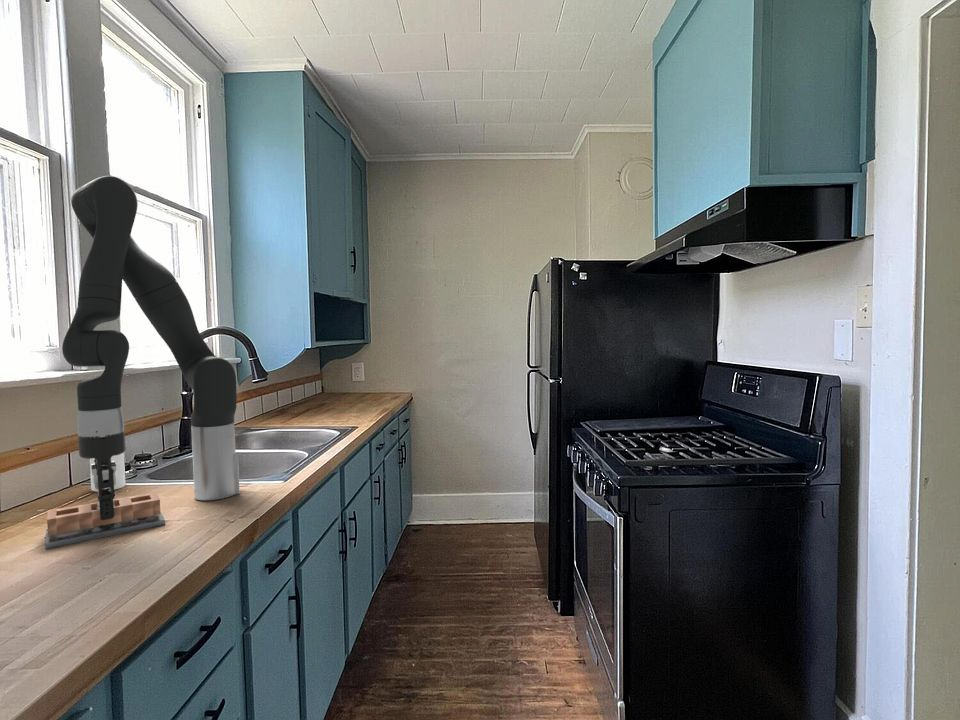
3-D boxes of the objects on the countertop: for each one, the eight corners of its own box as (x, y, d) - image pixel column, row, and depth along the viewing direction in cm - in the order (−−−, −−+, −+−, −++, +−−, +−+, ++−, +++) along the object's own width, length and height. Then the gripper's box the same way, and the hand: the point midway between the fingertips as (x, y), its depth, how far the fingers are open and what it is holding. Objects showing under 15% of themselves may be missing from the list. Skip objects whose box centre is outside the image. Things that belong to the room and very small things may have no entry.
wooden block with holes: (48, 535, 99) (47, 519, 99) (49, 525, 104) (48, 510, 104) (160, 513, 110) (159, 499, 110) (156, 505, 115) (155, 492, 115)
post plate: (159, 512, 116) (157, 483, 116) (165, 524, 109) (163, 493, 109) (46, 534, 105) (44, 502, 104) (45, 548, 98) (43, 514, 97)
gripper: (77, 428, 109) (82, 508, 110) (78, 439, 98) (83, 529, 99) (121, 424, 114) (125, 501, 115) (127, 434, 102) (132, 519, 103)
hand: (106, 513), depth 107 cm, fingers closed on wooden block with holes, 6 cm apart
